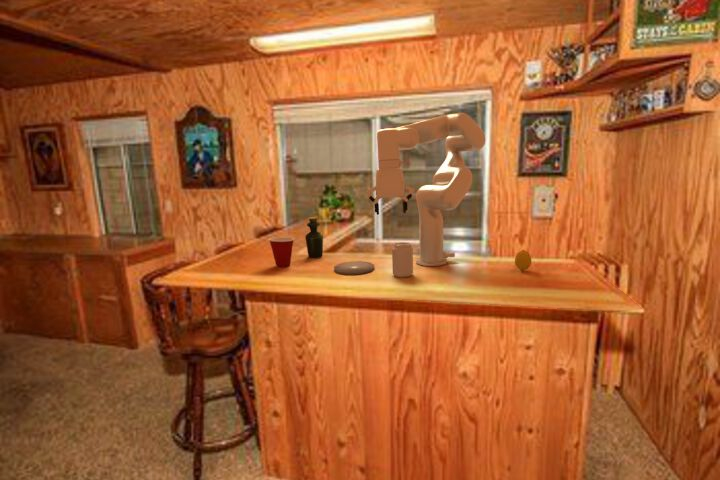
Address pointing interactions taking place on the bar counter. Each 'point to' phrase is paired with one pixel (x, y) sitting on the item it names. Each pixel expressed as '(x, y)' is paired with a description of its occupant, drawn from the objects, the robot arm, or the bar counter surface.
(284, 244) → the plastic cup
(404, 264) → the can
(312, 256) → the potion bottle
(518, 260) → the lemon
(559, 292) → the bar counter surface
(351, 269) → the dish
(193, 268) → the bar counter surface
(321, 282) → the bar counter surface
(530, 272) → the bar counter surface
